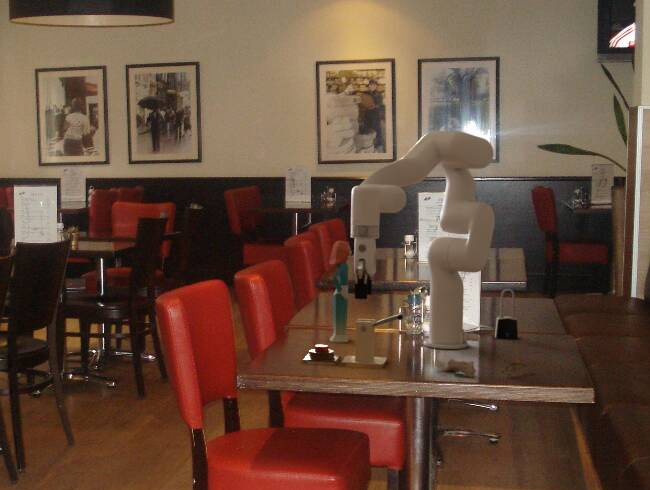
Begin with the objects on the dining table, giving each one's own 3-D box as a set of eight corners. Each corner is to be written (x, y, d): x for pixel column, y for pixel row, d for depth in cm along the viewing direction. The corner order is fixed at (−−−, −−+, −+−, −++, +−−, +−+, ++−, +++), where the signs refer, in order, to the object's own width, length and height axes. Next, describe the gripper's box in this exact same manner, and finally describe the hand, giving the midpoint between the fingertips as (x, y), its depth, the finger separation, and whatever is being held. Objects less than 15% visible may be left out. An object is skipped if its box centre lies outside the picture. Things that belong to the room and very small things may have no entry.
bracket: (387, 362, 281) (387, 318, 279) (383, 368, 272) (383, 324, 271) (346, 359, 284) (347, 316, 283) (341, 366, 275) (341, 322, 274)
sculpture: (349, 344, 306) (350, 242, 303) (326, 343, 307) (327, 242, 304) (352, 336, 318) (353, 238, 315) (330, 336, 320) (331, 238, 317)
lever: (406, 317, 276) (403, 309, 276) (404, 320, 271) (401, 312, 271) (362, 331, 280) (359, 322, 280) (360, 334, 275) (357, 325, 275)
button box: (340, 359, 284) (340, 349, 283) (335, 365, 276) (336, 354, 276) (308, 358, 286) (308, 347, 286) (302, 363, 278) (302, 352, 278)
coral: (437, 370, 270) (438, 353, 269) (478, 374, 265) (478, 357, 264) (431, 374, 265) (431, 357, 264) (472, 378, 260) (472, 361, 259)
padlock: (517, 336, 318) (518, 288, 317) (518, 339, 314) (520, 289, 312) (494, 336, 319) (495, 287, 318) (495, 338, 315) (497, 289, 314)
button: (329, 351, 282) (329, 344, 282) (327, 353, 279) (327, 347, 278) (316, 350, 283) (316, 344, 283) (313, 353, 280) (314, 346, 279)
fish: (504, 380, 258) (505, 360, 258) (499, 379, 260) (499, 359, 259) (534, 374, 265) (535, 354, 265) (528, 373, 266) (529, 353, 266)
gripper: (375, 234, 267) (373, 301, 268) (382, 230, 283) (380, 293, 285) (346, 233, 269) (344, 300, 270) (354, 230, 285) (353, 292, 287)
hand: (363, 296), depth 277 cm, fingers open, 9 cm apart
